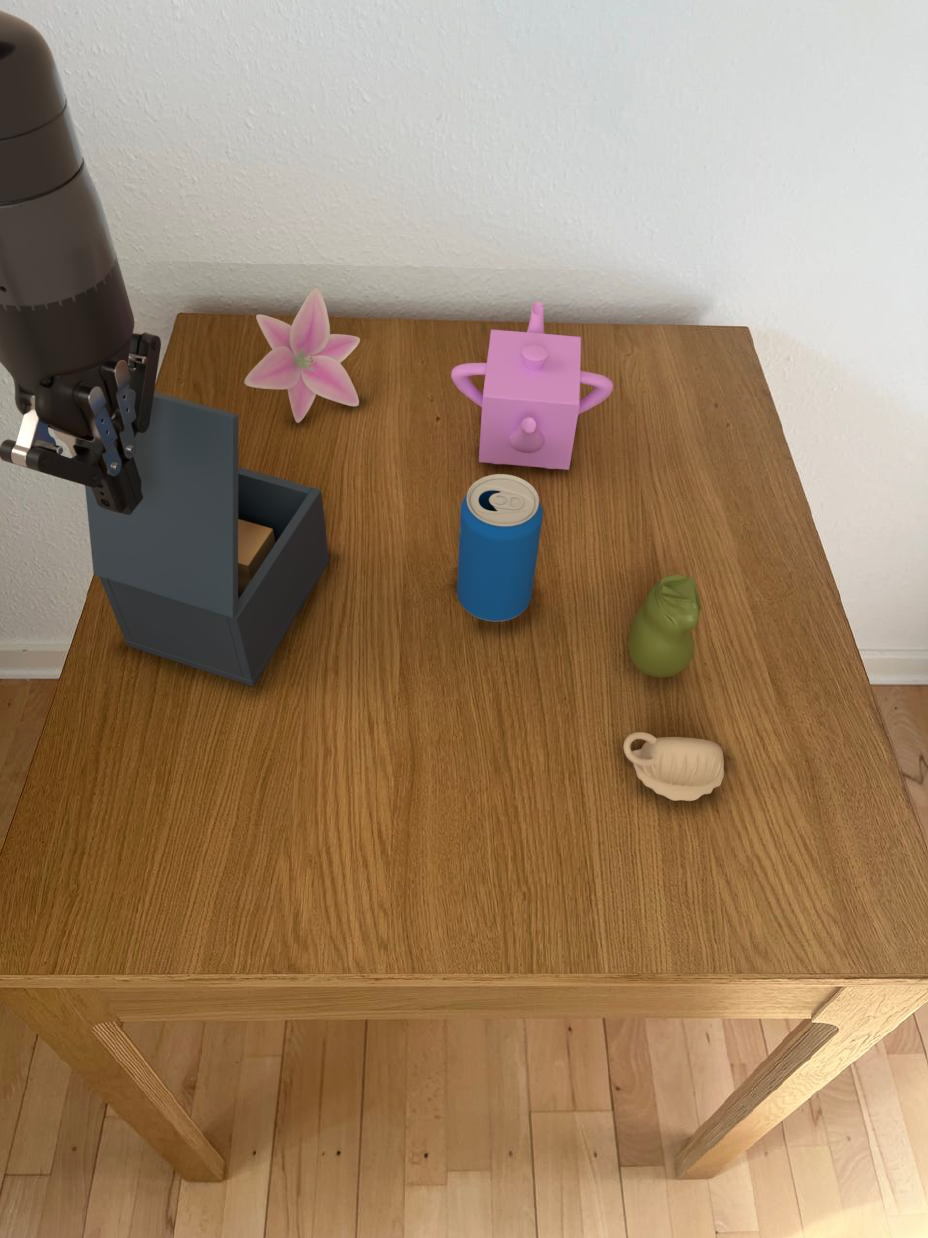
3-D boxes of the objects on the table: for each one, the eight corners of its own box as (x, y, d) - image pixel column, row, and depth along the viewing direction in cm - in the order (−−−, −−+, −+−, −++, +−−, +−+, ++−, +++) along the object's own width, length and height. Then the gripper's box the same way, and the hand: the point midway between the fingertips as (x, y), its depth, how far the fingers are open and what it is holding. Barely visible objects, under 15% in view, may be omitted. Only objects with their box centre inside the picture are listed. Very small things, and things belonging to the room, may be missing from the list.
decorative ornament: (723, 806, 70) (743, 770, 66) (612, 793, 71) (624, 757, 66) (720, 759, 73) (738, 722, 69) (612, 747, 73) (624, 709, 69)
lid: (81, 371, 62) (73, 374, 62) (239, 413, 60) (232, 417, 59) (99, 569, 71) (93, 574, 70) (238, 612, 69) (232, 618, 68)
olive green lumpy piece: (620, 635, 80) (641, 555, 72) (682, 638, 80) (710, 559, 72) (625, 689, 77) (648, 612, 69) (690, 692, 77) (720, 616, 69)
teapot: (427, 423, 96) (428, 332, 88) (530, 379, 101) (540, 288, 93) (518, 512, 89) (529, 422, 80) (624, 459, 94) (644, 369, 86)
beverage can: (462, 566, 84) (467, 465, 75) (533, 575, 84) (547, 475, 75) (451, 621, 80) (455, 523, 71) (527, 631, 80) (540, 533, 71)
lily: (233, 427, 96) (250, 382, 88) (238, 326, 100) (254, 274, 91) (347, 445, 101) (373, 404, 92) (348, 348, 104) (374, 299, 96)
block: (208, 586, 81) (198, 551, 77) (233, 550, 84) (225, 514, 80) (256, 601, 80) (248, 565, 77) (279, 564, 83) (273, 528, 79)
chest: (213, 527, 86) (195, 454, 79) (329, 561, 84) (321, 489, 77) (126, 646, 78) (98, 575, 71) (253, 687, 76) (236, 619, 69)
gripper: (19, 348, 43) (118, 594, 56) (171, 209, 50) (225, 454, 64) (-118, 311, 44) (11, 560, 58) (51, 182, 52) (129, 427, 65)
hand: (124, 504), depth 61 cm, fingers closed
